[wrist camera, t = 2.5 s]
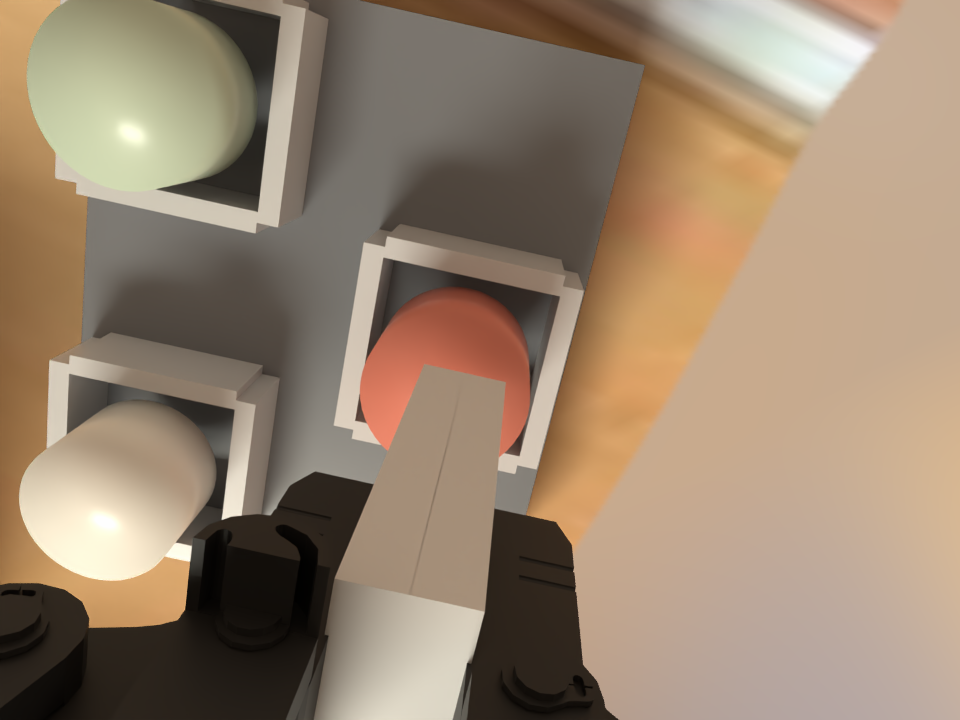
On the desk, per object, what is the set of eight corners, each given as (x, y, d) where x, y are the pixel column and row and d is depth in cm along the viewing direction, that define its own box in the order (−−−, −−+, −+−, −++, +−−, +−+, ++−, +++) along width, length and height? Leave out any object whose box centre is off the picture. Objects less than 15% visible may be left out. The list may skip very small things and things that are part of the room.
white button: (76, 509, 20) (17, 562, 18) (82, 385, 19) (20, 425, 17) (209, 537, 20) (168, 594, 18) (223, 416, 19) (181, 459, 17)
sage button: (92, 161, 17) (24, 169, 15) (100, -10, 16) (29, -30, 14) (247, 195, 17) (205, 209, 15) (266, 28, 16) (223, 14, 14)
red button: (369, 411, 19) (347, 454, 17) (394, 271, 18) (374, 296, 15) (510, 441, 19) (508, 489, 17) (544, 304, 18) (547, 335, 15)
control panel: (124, 457, 25) (32, 538, 20) (158, -36, 20) (48, -80, 16) (506, 539, 25) (503, 637, 21) (627, 71, 21) (660, 59, 16)
